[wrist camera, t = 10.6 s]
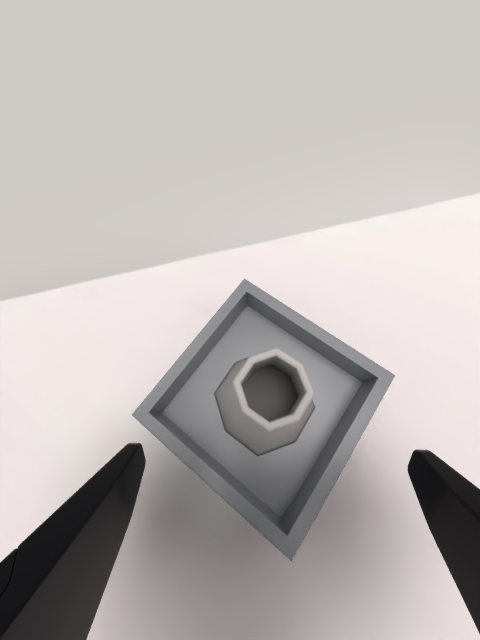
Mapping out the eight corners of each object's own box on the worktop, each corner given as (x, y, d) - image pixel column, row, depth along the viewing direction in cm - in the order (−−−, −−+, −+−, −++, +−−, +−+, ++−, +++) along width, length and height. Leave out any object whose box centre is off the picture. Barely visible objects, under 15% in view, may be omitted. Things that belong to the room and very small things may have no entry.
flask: (332, 410, 19) (405, 405, 10) (255, 476, 18) (258, 541, 9) (270, 336, 22) (283, 276, 12) (198, 390, 20) (151, 370, 11)
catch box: (284, 534, 18) (291, 561, 14) (151, 414, 21) (131, 414, 17) (372, 381, 21) (395, 375, 18) (245, 297, 24) (244, 278, 21)
